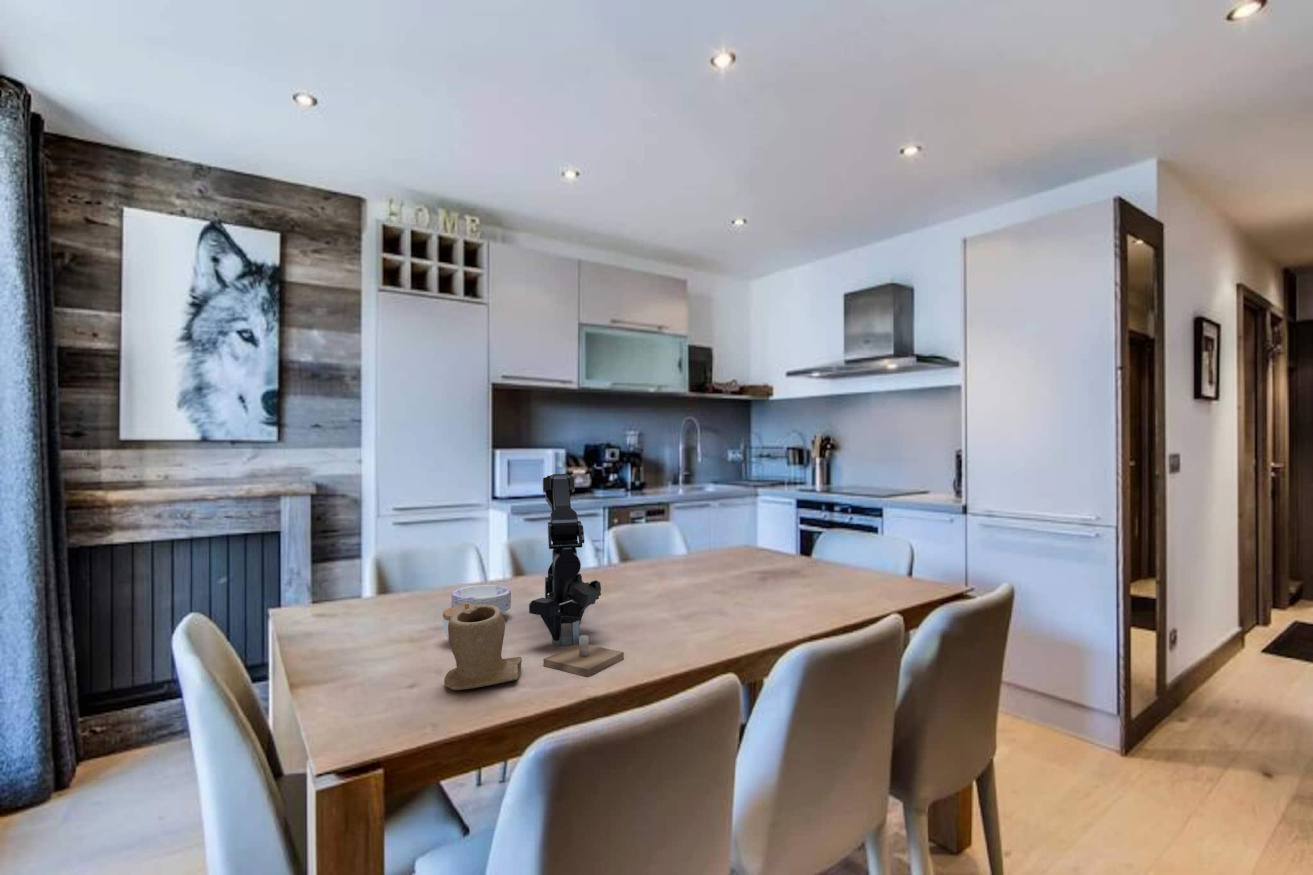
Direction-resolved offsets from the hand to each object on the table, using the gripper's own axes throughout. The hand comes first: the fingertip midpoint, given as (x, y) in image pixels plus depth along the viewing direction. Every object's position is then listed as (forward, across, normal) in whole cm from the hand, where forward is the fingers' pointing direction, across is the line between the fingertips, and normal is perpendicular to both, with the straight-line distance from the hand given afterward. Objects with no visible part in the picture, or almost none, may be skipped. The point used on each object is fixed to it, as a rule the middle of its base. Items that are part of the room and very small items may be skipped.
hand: (565, 636), depth 147 cm
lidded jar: (+1, -13, +19) cm, 23 cm away
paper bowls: (+1, +2, +31) cm, 31 cm away
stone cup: (+1, -28, -4) cm, 28 cm away
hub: (+1, 0, 0) cm, 1 cm away
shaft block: (+1, -9, -13) cm, 16 cm away
